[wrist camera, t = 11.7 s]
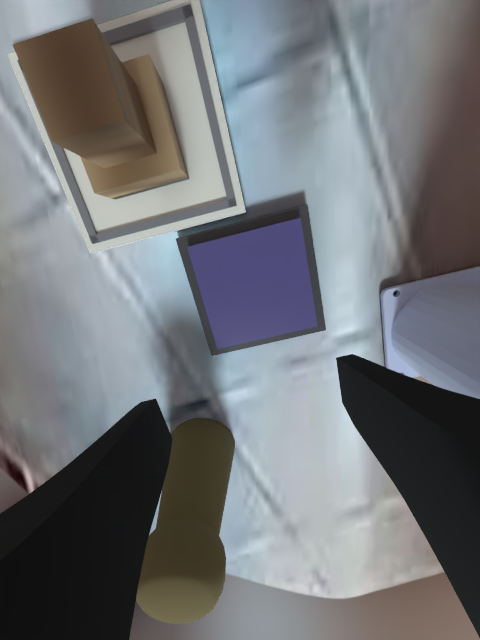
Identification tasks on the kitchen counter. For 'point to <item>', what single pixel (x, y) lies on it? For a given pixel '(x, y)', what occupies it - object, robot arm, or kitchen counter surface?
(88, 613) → the robot arm
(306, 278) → the ink pad
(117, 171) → the stamp
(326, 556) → the kitchen counter surface
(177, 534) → the cork
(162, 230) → the board
